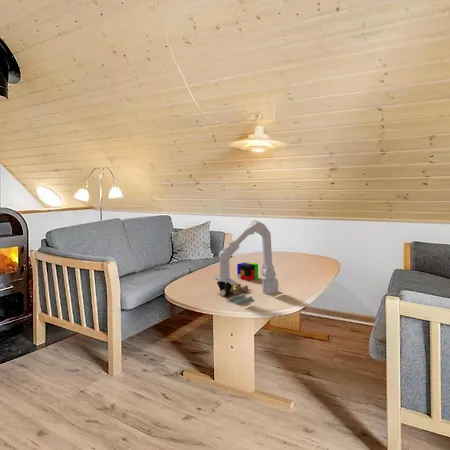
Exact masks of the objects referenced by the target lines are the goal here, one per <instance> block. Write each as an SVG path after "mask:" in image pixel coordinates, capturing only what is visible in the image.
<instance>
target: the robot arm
mask: <svg viewBox="0 0 450 450" xmlns="http://www.w3.org/2000/svg"><path fill="white" fill-rule="evenodd" d="M255 233H256V234H259V235H260V236H261V240H262V242H261V243H262V259H263V260H262V261H263V263H262V268H261V275H262V279H261V280H262V281H261V282H262V284H261V285H262V287H261V289H262V291H261V293H263V294H264V295H273V294H276V293H278V292H279V280H278V279H277V277H276V275H277V273H276V271H275V267H274V265H273V255H272V254H273V253H272V251H273V250H272V236H271V234H272V233H271V232H270V230H269V229H268V227H267V226H266V225H265V223H262V222H260V221H258V220H252V221H251V222H250V223H249V224H248V225H246V227H245V229H243V231H241V233H240V234H239V235H238V236H237V238H235V240H231V241H228V244H227V245H226V246H225V247H223V249H222V250H220V251H219V254H218V258H219V276H218V275H217V276H215V281H217V282H216V284H217V285H218V288H219V291H220V290H223V289H225V294H226V296H227V295H229V293H230V289H231V287H232V285H234V284H235V282H236V281H235V280H233V279H232V278H231V276H230V275H231V274H230V272H231V271H230V267H231V266H230V259H231V256H233V255H234V253H236V251H238V250H239V249H240V244H241V243H242V242H243V241H244V240H245V239H246V238H247V237H249V236H250V235H255Z"/></svg>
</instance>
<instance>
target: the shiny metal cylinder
mask: <svg viewBox="0 0 450 450" xmlns="http://www.w3.org/2000/svg"><path fill="white" fill-rule="evenodd" d="M232 289H233V288H232V287H231V289H230V293H229V294H232V292H231V290H232ZM219 294H220V295H219V296H221V297H224V296H225V295H226V294H225V289H223V290H220V289H219Z"/></svg>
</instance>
